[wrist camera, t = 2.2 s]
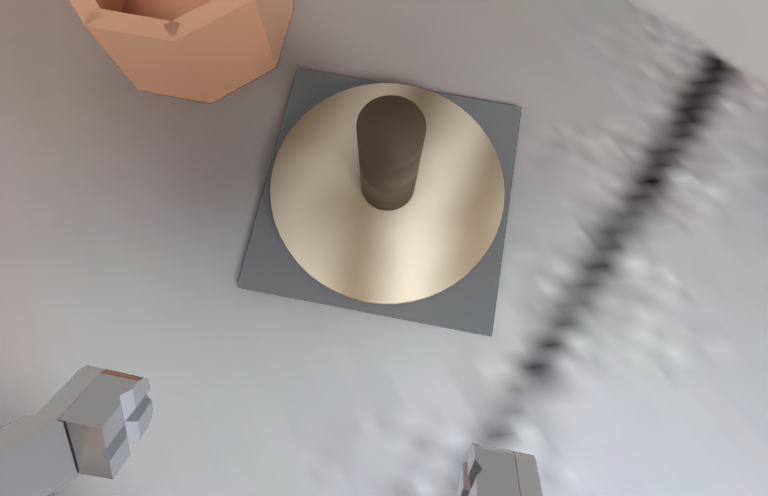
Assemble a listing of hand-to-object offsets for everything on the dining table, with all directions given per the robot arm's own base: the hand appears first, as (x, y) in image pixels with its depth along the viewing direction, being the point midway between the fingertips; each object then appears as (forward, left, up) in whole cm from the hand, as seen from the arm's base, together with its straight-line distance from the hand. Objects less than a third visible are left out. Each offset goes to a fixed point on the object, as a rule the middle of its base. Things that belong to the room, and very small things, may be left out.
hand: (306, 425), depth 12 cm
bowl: (+15, -22, -15) cm, 31 cm away
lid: (0, -12, -15) cm, 19 cm away
